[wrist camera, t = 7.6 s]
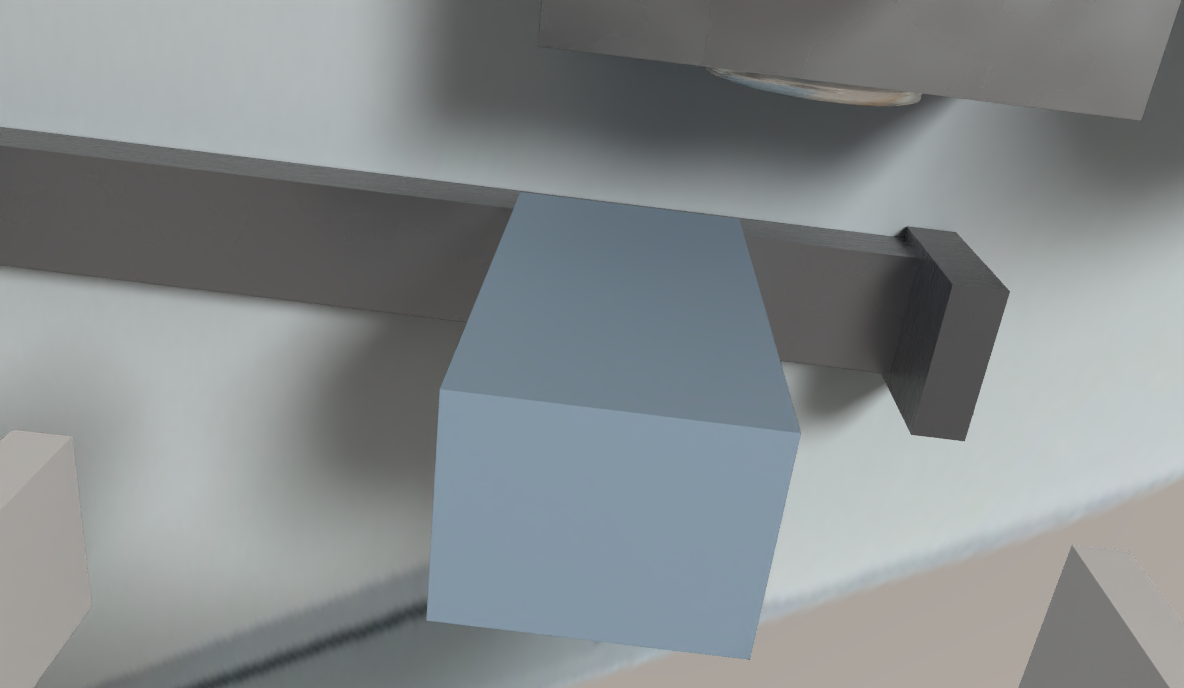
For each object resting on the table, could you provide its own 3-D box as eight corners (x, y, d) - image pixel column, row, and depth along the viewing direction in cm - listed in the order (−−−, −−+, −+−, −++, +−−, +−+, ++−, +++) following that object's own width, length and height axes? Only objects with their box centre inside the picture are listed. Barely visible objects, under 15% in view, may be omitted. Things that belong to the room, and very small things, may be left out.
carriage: (506, 350, 25) (426, 620, 16) (520, 191, 23) (439, 389, 14) (710, 375, 25) (749, 659, 16) (739, 218, 23) (800, 432, 14)
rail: (-3, 251, 26) (-107, 310, 23) (-22, 112, 25) (-137, 150, 21) (920, 364, 26) (964, 440, 23) (956, 232, 25) (1010, 291, 21)
